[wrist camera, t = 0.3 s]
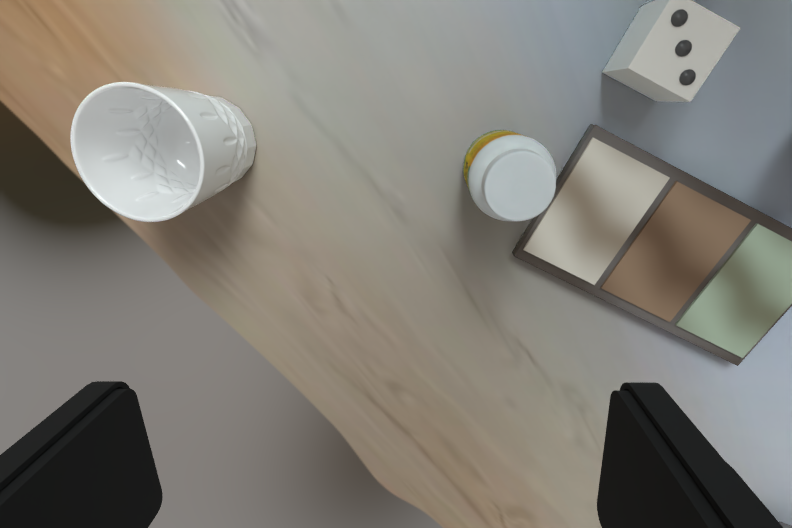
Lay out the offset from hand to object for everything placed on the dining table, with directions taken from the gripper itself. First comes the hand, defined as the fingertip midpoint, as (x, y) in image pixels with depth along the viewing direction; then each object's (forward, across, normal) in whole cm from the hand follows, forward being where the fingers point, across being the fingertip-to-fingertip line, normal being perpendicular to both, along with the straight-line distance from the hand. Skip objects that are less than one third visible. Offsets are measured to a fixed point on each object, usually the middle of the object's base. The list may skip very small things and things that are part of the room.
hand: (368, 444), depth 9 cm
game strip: (+28, -20, +5) cm, 35 cm away
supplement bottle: (+28, -6, -2) cm, 29 cm away
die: (+28, -16, -9) cm, 34 cm away
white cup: (+28, +15, -5) cm, 33 cm away
